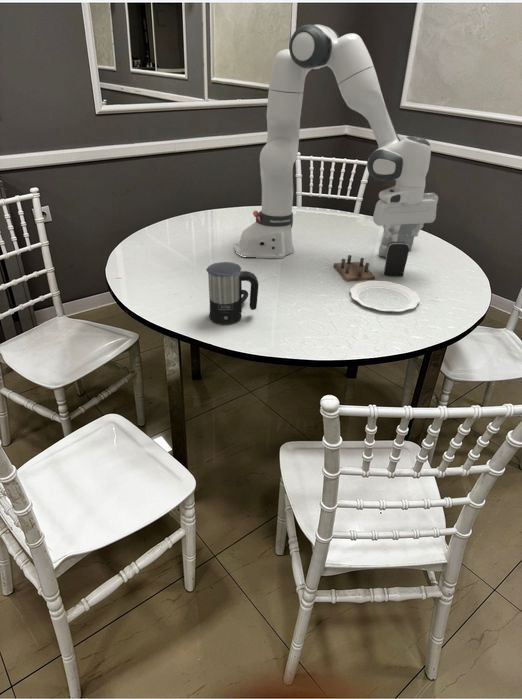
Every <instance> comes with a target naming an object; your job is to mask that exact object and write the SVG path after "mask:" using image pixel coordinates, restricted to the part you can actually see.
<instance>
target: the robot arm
mask: <svg viewBox="0 0 522 699" xmlns="http://www.w3.org/2000/svg"><path fill="white" fill-rule="evenodd" d="M288 45H289V46H288V48H286V49H285V48H284V49H281V50H280V51H278V52H277V53H276V54H275V56H274V59H273V62H272V67H271V70H270V75H269V76H270V77H269V83H268V84H269V86H268V95H267V96H268V97H267V106H266V107H267V108H266V123H267V124H266V125H267V130H266V132H267V135H266V136H267V139H266V144H265V145H264V146H263V147H262V149H261V151H260V154H259V166H260V167H259V168H260V170H259V171H260V181H261V209H260V211H258V210H255V209H254V210H253V211H252V215H253V217H254V218H255V221H254V222H253V223H252V224H251V225H249V226H248V227H246V228H245V229H243V231H242V233H241V236H240V240H239V241H237V242H236V243H234V247H233V249H235V250H234V252H235V251H236V252H237V253H238V254H240V255H242V256H246V257H256V258H255V259H284V258H285V257H286V256H288V255H290V254H292V253H293V252H294V251H295V247H294V243H293V234H292V228H293V225H294V212H293V203H294V202H293V201H294V200H293V199H294V181H293V176H294V173H293V171H294V168H293V167H294V164H295V162H296V160H297V158H298V155H299V147H300V146H299V142H300V129H301V128H300V127H301V115H302V106H303V99H304V90H305V81H306V77H307V74H308V73H309V72H310V71H316V70H322V69H325V68H330V70H331V71H332V72H333V74H334V77H335V80H336V83H337V87H338V89H339V91H340V94H341V97H342V99H343V100H344V102H345V103H346V106H347V107H348V108H349V109H351V110H352V111H355V112H356V113H359V114H360V115H362V116H363V117H364V118H365V119H366V120H367V121H368V123H369V126H370V129H371V130H372V133H373V135H374V138H375V140H376V142H377V146H378V148H377V149H376V150H374V151H372V153H371V154H370V155H369V157H368V159H367V163H366V168H367V172H368V174H369V175H370V177H371V178H372V179H374V180H375V181H381V182H382V181H393V180H395V185H394V186H391V187H389V188H385V189H383V190H381V191H380V192H379V193H378V198H379V200H378V201H377V202H376V204H375V208H374V211H373V216H372V221H373V222H374V224H375V225H376V226H379V227H380V226H381V227H383V231H384V230H385V238H391V235H392V233H391V232H390V231H389V230H388V228H390V225H401V224H417V226H416V228H415V230H412V234H411V235H412V236H413V237H414V238H415V237H417V238H418V237H419V233H420V231H421V230H422V229H423V227H424V224H432V223H433V222H434V221H435V220H436V219H437V218H436V216H437V208H438V206H437V204H438V202H439V196H438V194H436V193H435V192H425V189H426V176H427V175H428V172H429V167H430V163H431V162H430V161H431V154H432V152H431V151H432V147H431V143H430V142H429V141H428V140H427V139H425V138H423V137H420V136H415V135H408V136H406V137H405V138H403V139H401V138H400V137H399V135H398V134H397V131H396V129H395V125H394V123H393V120H392V117H391V115H390V112H389V110H388V107H387V106H386V103H385V100H384V96H383V93H382V90H381V86H380V82H379V79H378V74H377V72H376V69H375V65H374V63H373V60H372V57H371V54H370V53H369V50H368V48H367V46H366V44H365V43H364V40H363V39H362V37H361V36H360V35H359V34H357V33H346V34H343V35H342V36H340V35H339V33H338V32H337V31H336V30H335V29H334V28H332V27H329V26H326V25H323V24H309V23H308V24H305V25H302V26H300V27H298V28H297V29H296V30H295V31H294V32H293V34H292V35H291V37H290V40H289V44H288ZM236 252H235V253H236Z"/></svg>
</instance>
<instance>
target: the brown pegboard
mask: <svg viewBox="0 0 522 699" xmlns="http://www.w3.org/2000/svg"><path fill="white" fill-rule="evenodd" d="M352 256H353V255H351V254H348V256H347V261H346V258H341V262H334V263H333V268H334V269H335V270H336V271H337V272H338V274H340V276H341V277H342V278H343V280H344V281H345V282H348V283H349V282H362V281H363V282H366V281H376V275H375V274H374V273H373V272H371V270H369V266H370V263H369V262H365V263H364V260H365V258H364V257H360V259H359V261H352ZM364 264H365V265H364Z"/></svg>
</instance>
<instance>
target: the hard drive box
mask: <svg viewBox="0 0 522 699" xmlns="http://www.w3.org/2000/svg"><path fill="white" fill-rule="evenodd" d="M416 227H417V224H401V226H400V229H399V233H398V238H397V242H405V243H406V244H407V245H408V246H409V252H410V251H412V249H413V243H414V239H415V237H413V236H412V235H411V234H412V230H415V228H416Z"/></svg>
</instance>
